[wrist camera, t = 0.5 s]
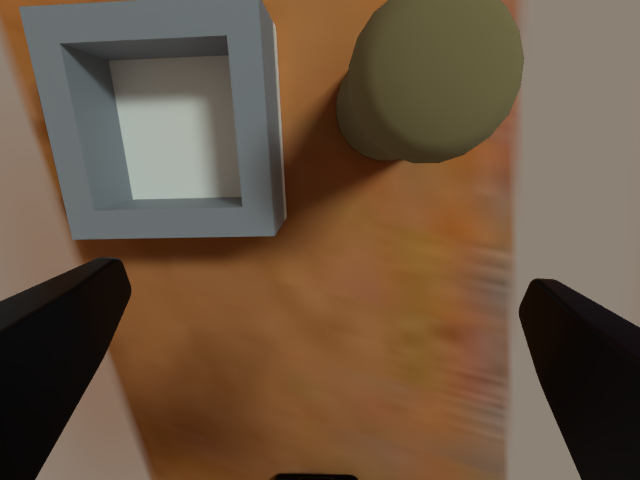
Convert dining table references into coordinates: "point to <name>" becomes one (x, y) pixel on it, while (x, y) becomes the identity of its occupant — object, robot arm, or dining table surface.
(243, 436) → the dining table surface
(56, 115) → the box
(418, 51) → the cork
